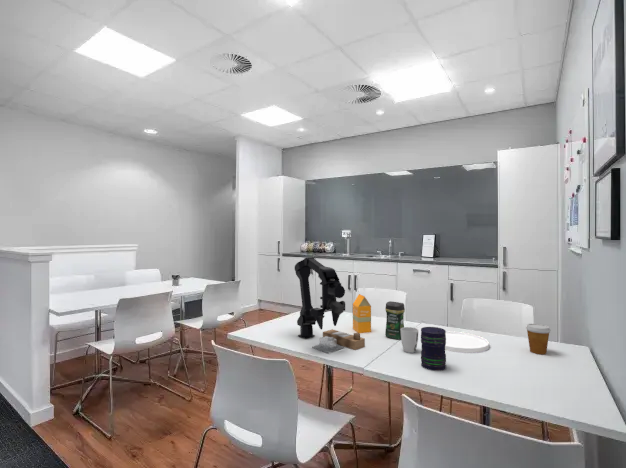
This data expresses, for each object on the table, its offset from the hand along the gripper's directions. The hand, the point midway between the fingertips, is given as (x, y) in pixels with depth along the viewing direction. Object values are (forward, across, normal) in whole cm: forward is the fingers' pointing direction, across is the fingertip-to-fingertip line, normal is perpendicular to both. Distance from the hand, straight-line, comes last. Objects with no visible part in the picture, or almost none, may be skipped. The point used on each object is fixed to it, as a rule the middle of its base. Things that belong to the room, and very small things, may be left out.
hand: (328, 327), depth 168 cm
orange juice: (+10, +34, +8) cm, 37 cm away
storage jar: (+10, +16, -46) cm, 49 cm away
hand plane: (+10, +10, 0) cm, 14 cm away
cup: (+10, +25, -29) cm, 39 cm away
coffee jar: (+10, +38, -12) cm, 41 cm away
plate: (+10, +52, -39) cm, 65 cm away
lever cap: (+9, 0, 0) cm, 9 cm away
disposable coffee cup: (+10, +66, -70) cm, 96 cm away
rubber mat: (+10, 0, 0) cm, 10 cm away
